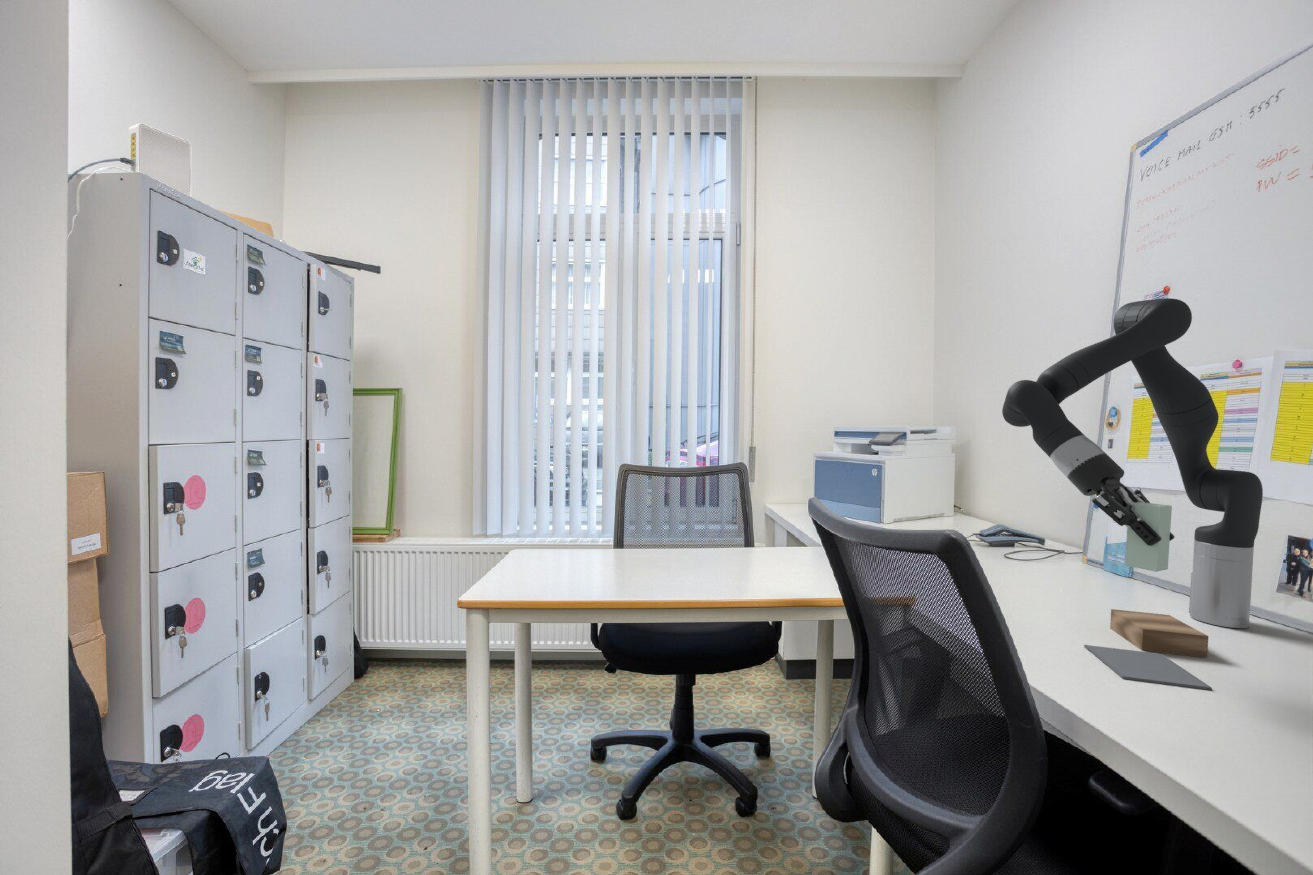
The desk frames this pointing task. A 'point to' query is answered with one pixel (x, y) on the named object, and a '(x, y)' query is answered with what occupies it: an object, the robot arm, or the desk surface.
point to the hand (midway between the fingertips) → (1162, 541)
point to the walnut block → (1159, 633)
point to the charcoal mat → (1146, 667)
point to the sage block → (1138, 549)
